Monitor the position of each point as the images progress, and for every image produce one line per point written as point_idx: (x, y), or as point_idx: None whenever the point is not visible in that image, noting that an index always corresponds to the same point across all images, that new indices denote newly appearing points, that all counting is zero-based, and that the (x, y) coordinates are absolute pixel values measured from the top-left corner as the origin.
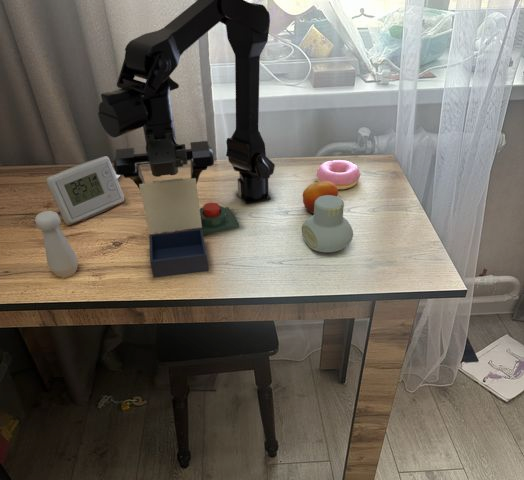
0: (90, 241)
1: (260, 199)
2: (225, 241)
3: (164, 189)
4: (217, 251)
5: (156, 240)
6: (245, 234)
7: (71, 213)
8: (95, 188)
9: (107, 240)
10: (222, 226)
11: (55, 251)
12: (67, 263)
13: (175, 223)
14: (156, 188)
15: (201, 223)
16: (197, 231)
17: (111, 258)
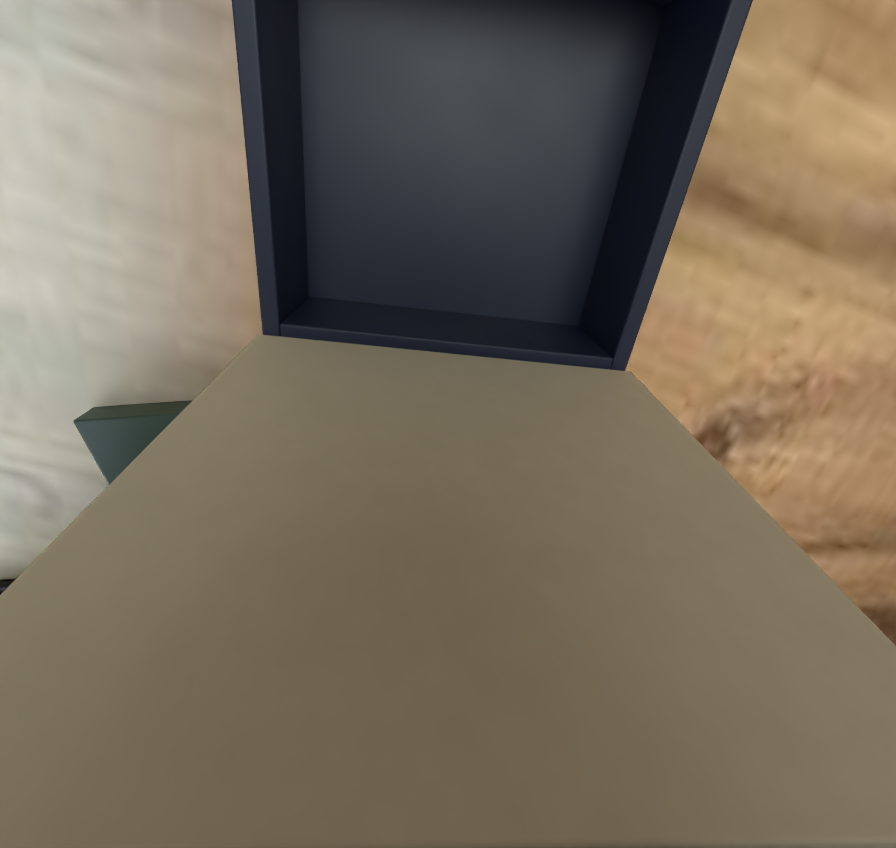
0: (801, 492)
1: (2, 590)
2: (167, 300)
3: (564, 669)
4: (215, 201)
5: (577, 341)
6: (46, 336)
7: None
8: None
9: (737, 480)
10: (173, 417)
11: None
12: None
13: (447, 376)
14: (706, 708)
15: None
16: (301, 322)
17: (792, 333)
